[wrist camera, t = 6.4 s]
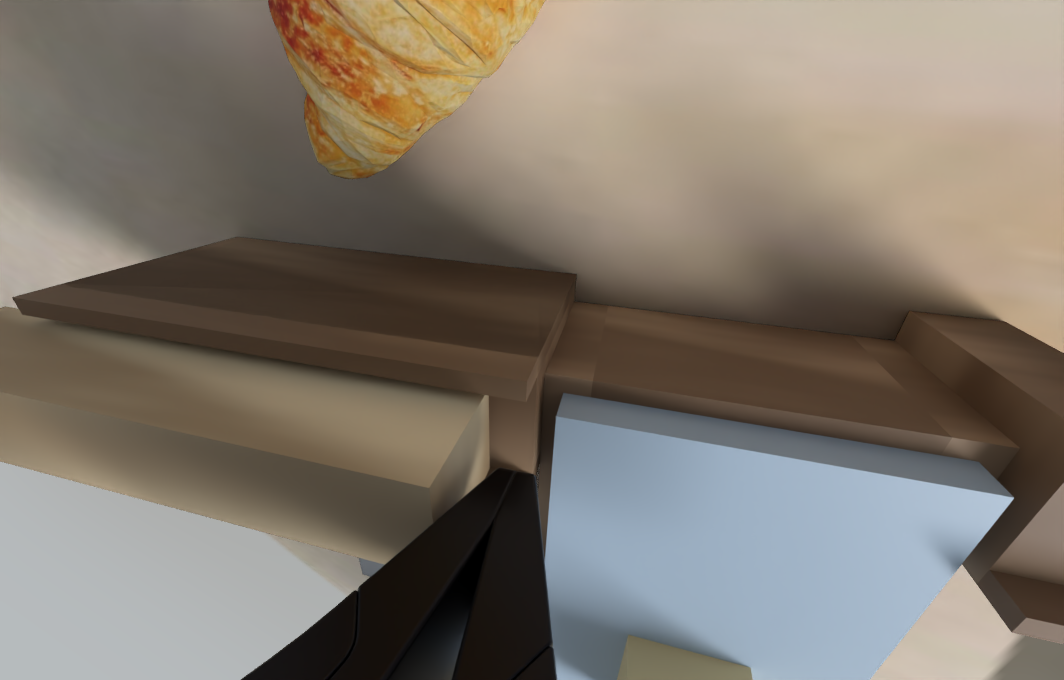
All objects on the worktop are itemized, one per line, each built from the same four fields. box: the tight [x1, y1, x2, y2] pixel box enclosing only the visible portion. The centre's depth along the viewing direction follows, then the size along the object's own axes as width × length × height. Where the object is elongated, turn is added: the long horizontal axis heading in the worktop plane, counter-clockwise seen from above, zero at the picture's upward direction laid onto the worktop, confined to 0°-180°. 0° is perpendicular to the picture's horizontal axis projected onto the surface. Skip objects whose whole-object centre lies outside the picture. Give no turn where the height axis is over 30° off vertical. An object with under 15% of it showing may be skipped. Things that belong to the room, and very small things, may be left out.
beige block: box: [0, 307, 490, 565], centre depth 9 cm, size 2×15×5 cm, turn 88°
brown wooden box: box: [12, 237, 1064, 644], centre depth 15 cm, size 17×26×7 cm, turn 88°
